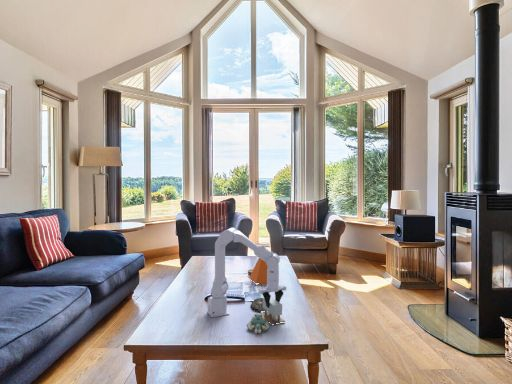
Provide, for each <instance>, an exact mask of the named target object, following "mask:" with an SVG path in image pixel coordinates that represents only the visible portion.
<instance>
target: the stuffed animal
mask: <svg viewBox="0 0 512 384" xmlns="http://www.w3.org/2000/svg"><path fill="white" fill-rule="evenodd" d="M246 327H247V330H249V331H250V332H254V334H262V332H264V331H265V332H266V330H267V331H268V330H269V328H270V327H271V324H270V323H268V322H267V321H266V320H265V318H264V316H263V315H262V314H260V313H254V314H253V316H252V318H251V320H250V321H248V323H247V324H246ZM261 330H263V331H261Z"/></svg>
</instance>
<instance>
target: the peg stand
mask: <svg viewBox="0 0 512 384" xmlns="http://www.w3.org/2000/svg"><path fill="white" fill-rule="evenodd" d="M259 314H262V315H263V316H264V318H265V319H266V320H267V321H268V322H270V323H271V324H276V323H280V322H285V323H286V320H284V319H283V318H281V315H278V316H273V315H272V314H270V313H269V312H268V311H267V310H265V312H263V313H260V312H259ZM266 320H265V321H266ZM267 321H266V322H267ZM268 322H267V323H268ZM270 323H269V324H270ZM271 324H270V325H271Z"/></svg>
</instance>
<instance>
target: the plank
mask: <svg viewBox="0 0 512 384" xmlns="http://www.w3.org/2000/svg"><path fill="white" fill-rule="evenodd" d="M262 298H263V308H264V309H265V310H267V312H269V313H270V314H272V315H273V316H278V315H280V316H282V315H283V304H282V303H281V302H278V301H277V300H275V298H274V297H273V296H271V297H270V306H269V308H268V307H266V302H265V299H264V296H263V297H262Z"/></svg>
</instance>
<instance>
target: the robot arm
mask: <svg viewBox="0 0 512 384" xmlns="http://www.w3.org/2000/svg"><path fill="white" fill-rule="evenodd" d="M231 242H233V243H240V244H243V245H244V246H245V247H247V248H248V249H250V250H252V251H253V255H255V257H257V258H258V259H259V258H260V259H262V260H263V261H264V262H266V264H267V266H268V269H267V284H266V286H265V287H262V288H258V293H259V294H260V295H262V296H263V297H264V299H265V302H266V307H268V308H269V306H270V297H272V296H271V293H274V297H275V298H274V299H275V300H277V301H278V302H279V303H281V299H282V297H283V295H284V291H287V286H286V285H279V284H280V283H279V281H280V279H279V277H280V270H279V269H280V266H279V265H280V264H279V263H280V260H281V259H280V256H279V255H278V254H277V253H276V252H274V251H271V250H269V249H267V247H266V245H262V244H257V243H255V242H254V241H253V240H251V239H250V237H249V238H248V236H246V235H245V234H244V233H243V232H241V230H238V229H237V228H235V227H229V228H228V229H225V230H222V232H220V233H219V235H218V238H216V241H215V242H214V279H213V281H212V287H211V290H210V294H211V296H209V297H208V298H207V311H206V312H207V314H208V315H209V316H210V317H211V318H216V317H221V316H228V315H230V312H229V311H228V310H227V307H228V305H227V303H228V297H227V296H228V294H227V291H228V289H229V283H228V279H227V277H226V246H227V245H228V244H229V243H231Z"/></svg>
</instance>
